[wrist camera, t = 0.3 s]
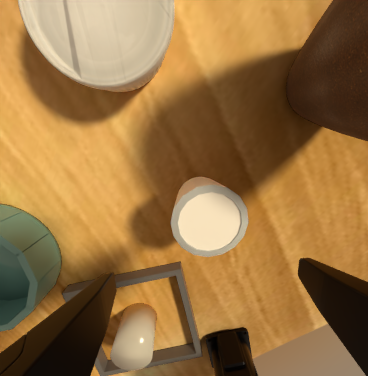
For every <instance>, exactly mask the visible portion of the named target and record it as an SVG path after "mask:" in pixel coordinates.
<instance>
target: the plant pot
mask: <svg viewBox="0 0 368 376" xmlns="http://www.w3.org/2000/svg"><path fill="white" fill-rule="evenodd" d="M286 93H287V98H288V101H289V104H290V106H291V107H292V109H293V110H294V111H295V112H296V113H297V114H298V115H300V116H302V117H303V118H305V119H307V120H309V121H311V122H313V123H315V124H318V125H320V126H323V127H325V128H328V129H330V130H333V131H336V132H339V133H342V134H345V135H348V136H351V137H355V138H358V139H361V140H365V141H368V0H333V1H332V3H331V4H330V5H329V7H328V8H327V10H326V11H325V13H324V14H323V16H322V17H321V19H320V20H319V22H318V23H317V25H316V26H315V28H314V29H313V31H312V32H311V34H310V36H309V37H308V39H307V40H306V42H305V44H304V45H303V47H302V49H301V51H300V52H299V54H298V56H297V58H296V59H295V61H294V63H293V65H292V67H291V69H290V72H289V74H288V78H287V83H286Z"/></svg>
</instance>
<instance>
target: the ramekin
mask: <svg viewBox="0 0 368 376" xmlns="http://www.w3.org/2000/svg"><path fill="white" fill-rule="evenodd" d="M18 5H19V9H20V13H21V16H22V19H23V22H24V24H25V27H26V29H27V31H28V33H29V35H30V37H31V39H32V41H33V42H34V44H35V46H36V47H37V48H38V50H39V51H40V52H41V53H42V55H43V56H44V57H45V58H46V59H47V60H48V62H49V63H50V64H52V65H53V66H54V67H55V68H56V69H57V70H59V71H60V72H61V73H63V74H64V75H65V76H67V77H69V78H70V79H72V80H74V81H76V82H78V83H80V84H82V85H85V86H87V87H91V88H95V89H101V90H109V91H112V92H127V91H133V90H135V89H139V88H140V87H141V86H144V85H145V84H146V83H147V82H149V81H150V80H151V79H152V78H153V77H154V76H155V74H156V73H157V72H158V70H159V68H160V67H161V65H162V62H163V60H164V57H165V54H166V51H167V49H168V47H169V44H170V41H171V37H172V33H173V27H174V0H18Z"/></svg>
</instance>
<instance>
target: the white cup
mask: <svg viewBox="0 0 368 376" xmlns="http://www.w3.org/2000/svg"><path fill="white" fill-rule="evenodd" d="M247 225H248V213H247V208H246V206H245V204H244V203H243V201H242V199H241V198H240V196H239V195H237V194H236V193H234V192H233V191H232V190H230V189H229V188H227V187H225V186H223V185H221V184H220V183H218V182H216V181H214V180H212V179H210V178H206V177H201V176H200V177H195V178H191V179H190V180H188V181H186V182H185V183H184V184H183V185H182V187H181V188H180V190H179V192H178V195H177V199H176V202H175V205H174V209H173V214H172V218H171V227H172V232H173V236H174V238H175V239H176V240H177V242H178V243H179V244H180V246H181V247H182V248H183V249H185V250H187V251H188V252H190V253H192V254H194V255H199V256H205V257H211V256H216V255H221V254H224V253H225V252H227V251H229V250H231V249H232V248H234V247H235V246H236V245H237V244H238V243H239V241H240V240H241V239H242V238H243V237H244V235H245V232H246V228H247Z"/></svg>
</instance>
